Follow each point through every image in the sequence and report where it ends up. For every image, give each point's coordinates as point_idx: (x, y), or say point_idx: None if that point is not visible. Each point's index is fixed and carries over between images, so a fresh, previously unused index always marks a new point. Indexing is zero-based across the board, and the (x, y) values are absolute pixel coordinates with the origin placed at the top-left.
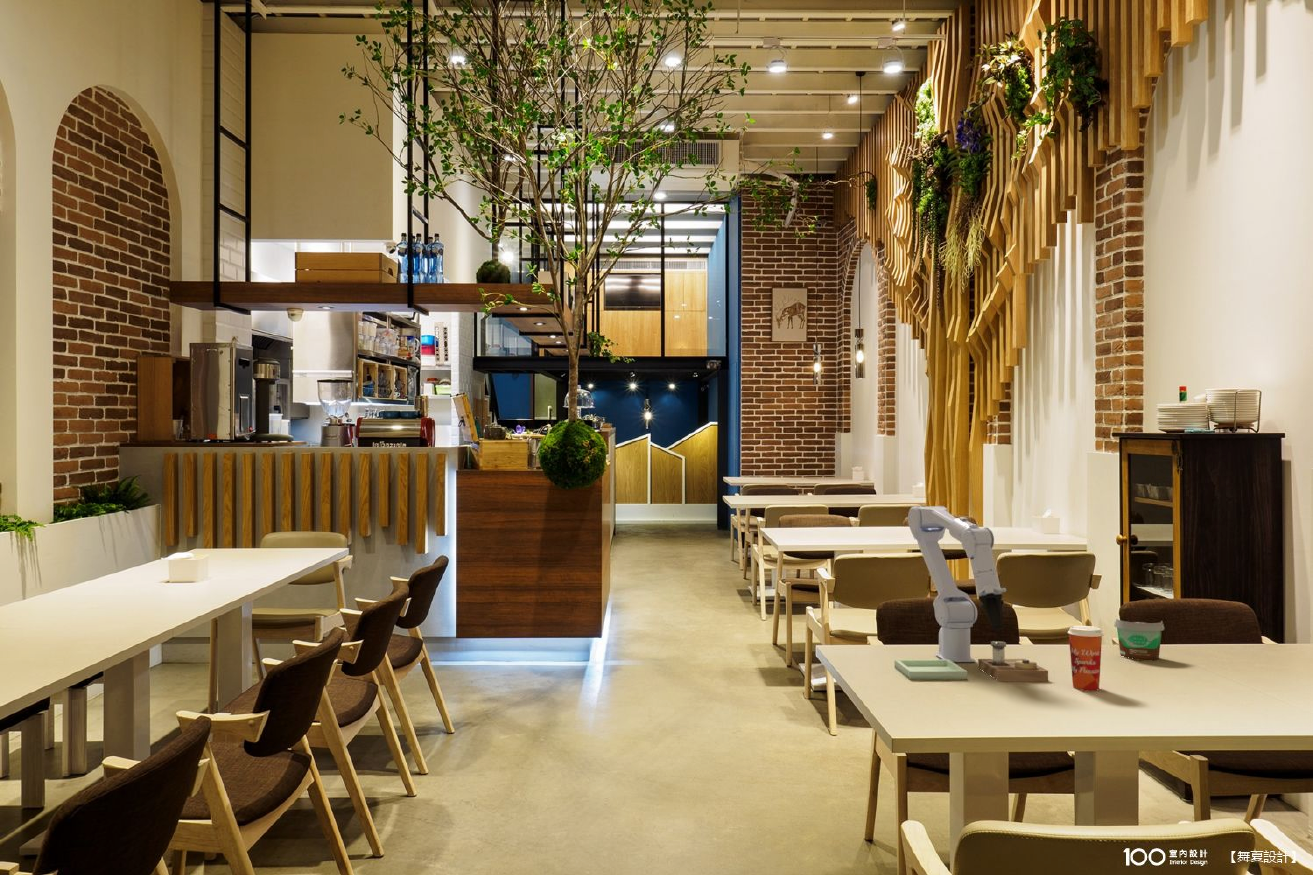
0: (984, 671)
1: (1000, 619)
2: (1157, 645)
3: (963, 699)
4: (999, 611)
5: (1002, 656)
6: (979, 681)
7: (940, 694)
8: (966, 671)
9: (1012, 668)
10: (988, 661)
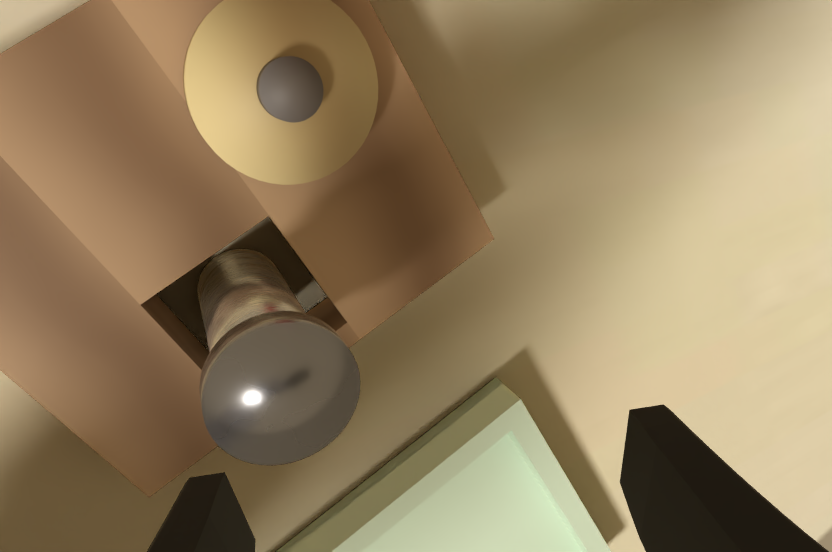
0: None
1: (704, 445)
2: None
3: (826, 251)
4: (810, 544)
5: (292, 299)
6: (508, 311)
7: (778, 351)
8: (520, 401)
9: (371, 177)
10: None
